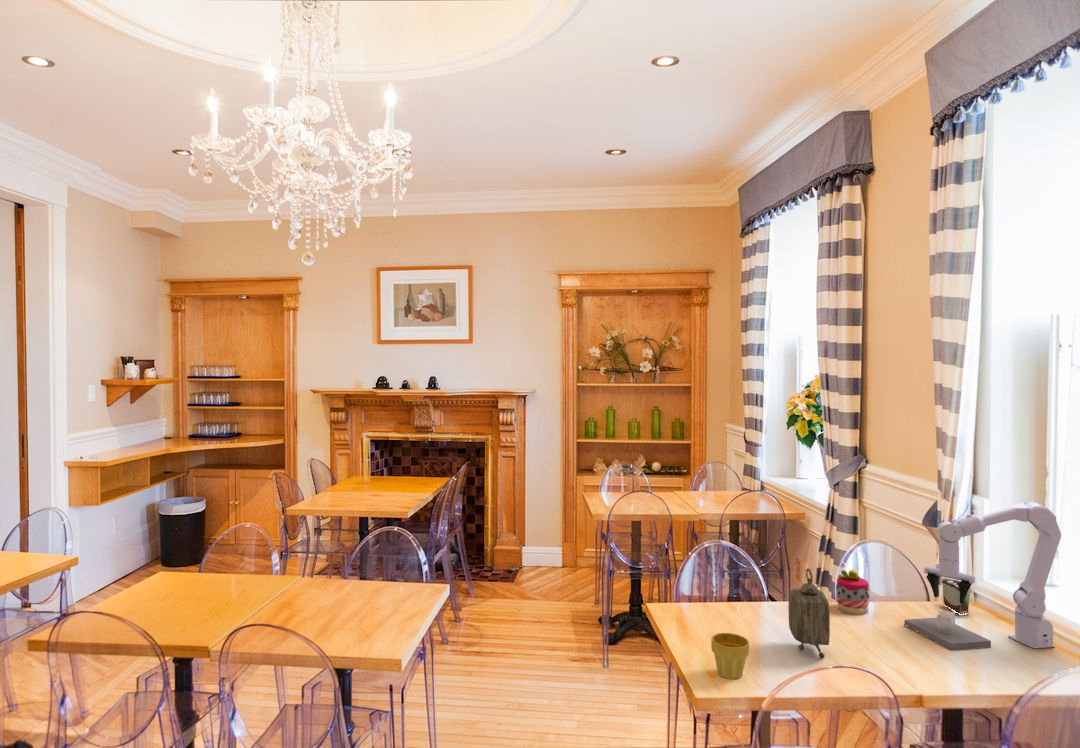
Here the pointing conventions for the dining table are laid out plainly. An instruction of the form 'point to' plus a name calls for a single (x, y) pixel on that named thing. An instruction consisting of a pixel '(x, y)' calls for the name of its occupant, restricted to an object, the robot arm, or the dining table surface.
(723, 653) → the plant pot
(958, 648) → the grey flat block
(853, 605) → the cake
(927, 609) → the dining table surface
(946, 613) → the housing
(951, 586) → the food container
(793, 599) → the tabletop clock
